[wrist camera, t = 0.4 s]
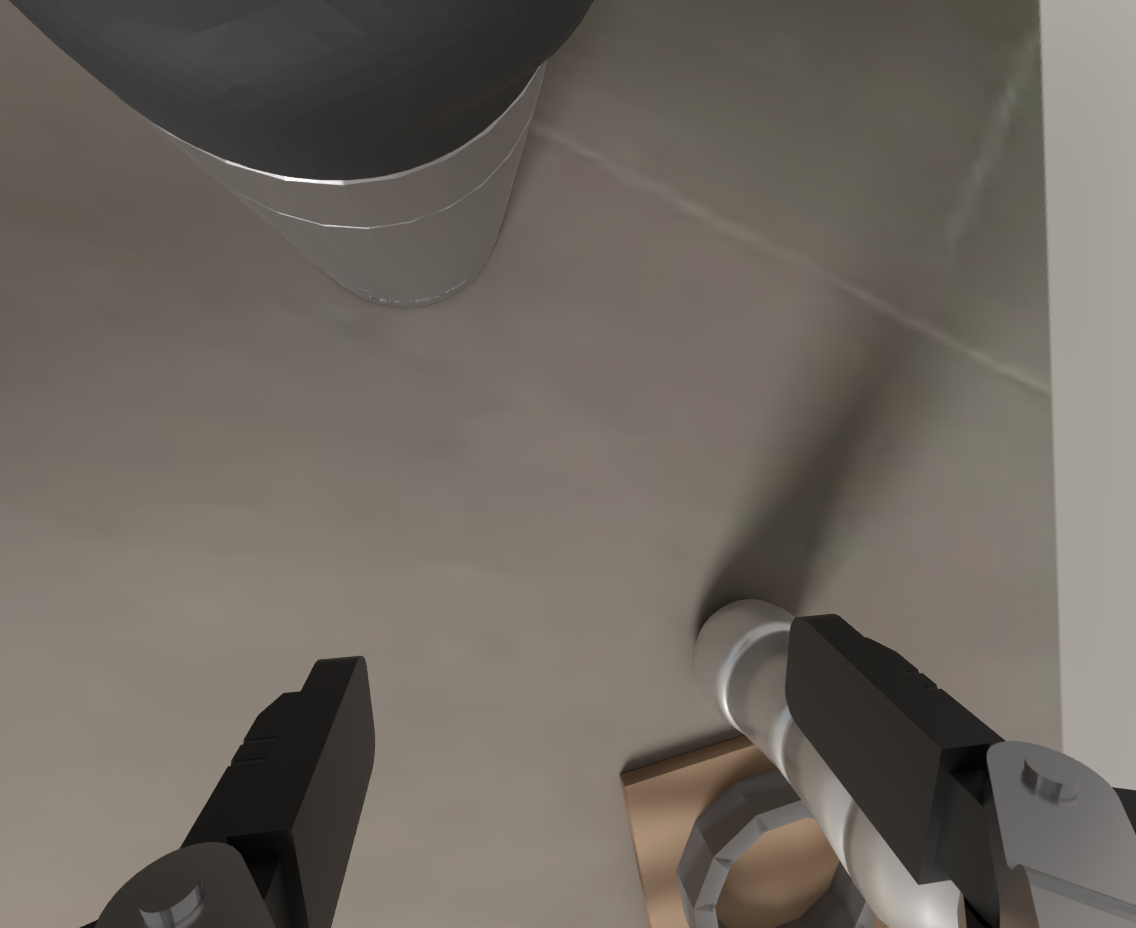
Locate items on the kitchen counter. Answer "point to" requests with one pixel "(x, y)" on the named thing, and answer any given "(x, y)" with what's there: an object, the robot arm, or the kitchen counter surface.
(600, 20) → the kitchen counter surface
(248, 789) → the robot arm
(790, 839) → the bottle dock
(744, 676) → the silver aluminium bottle
